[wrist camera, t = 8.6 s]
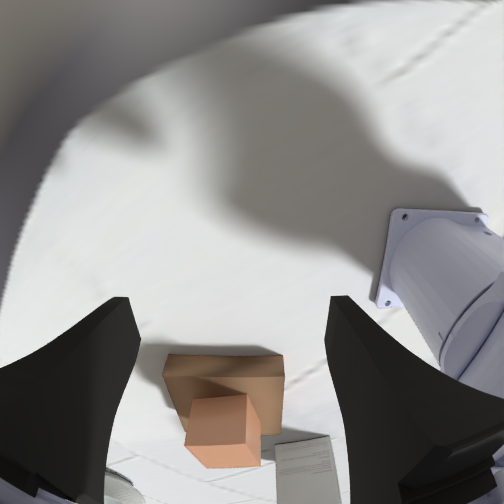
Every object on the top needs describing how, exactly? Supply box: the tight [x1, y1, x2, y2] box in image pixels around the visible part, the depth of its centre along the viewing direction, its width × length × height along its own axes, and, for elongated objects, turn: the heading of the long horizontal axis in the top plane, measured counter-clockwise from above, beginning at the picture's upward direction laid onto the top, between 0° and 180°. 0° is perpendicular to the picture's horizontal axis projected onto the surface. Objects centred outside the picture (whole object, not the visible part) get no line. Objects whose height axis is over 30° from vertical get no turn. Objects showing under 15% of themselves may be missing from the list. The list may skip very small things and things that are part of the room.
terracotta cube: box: [184, 394, 261, 468], centre depth 22 cm, size 5×5×5 cm
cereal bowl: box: [104, 471, 146, 504], centre depth 41 cm, size 17×17×7 cm
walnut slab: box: [162, 354, 285, 435], centre depth 26 cm, size 10×10×3 cm
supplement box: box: [275, 436, 342, 504], centre depth 27 cm, size 7×7×13 cm
